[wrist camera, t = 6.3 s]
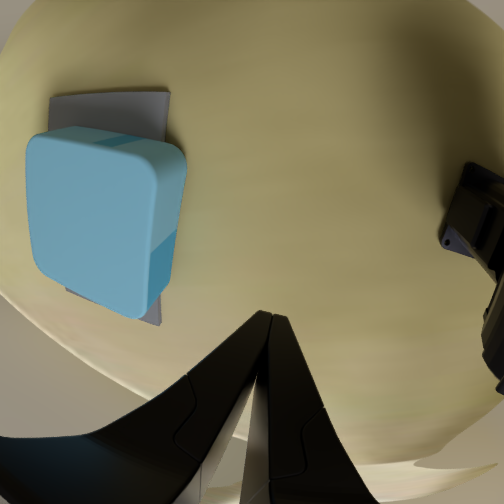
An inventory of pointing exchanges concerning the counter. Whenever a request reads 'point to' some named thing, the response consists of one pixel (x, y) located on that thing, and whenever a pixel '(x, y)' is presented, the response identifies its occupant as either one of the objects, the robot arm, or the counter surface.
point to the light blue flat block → (104, 213)
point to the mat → (115, 129)
